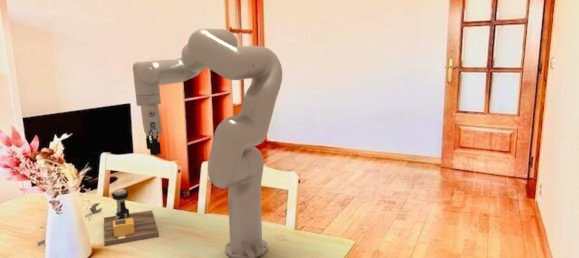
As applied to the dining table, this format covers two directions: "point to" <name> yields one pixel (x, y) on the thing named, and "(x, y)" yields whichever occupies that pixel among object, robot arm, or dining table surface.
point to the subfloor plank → (142, 228)
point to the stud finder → (123, 227)
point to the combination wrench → (93, 208)
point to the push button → (121, 203)
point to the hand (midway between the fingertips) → (153, 151)
